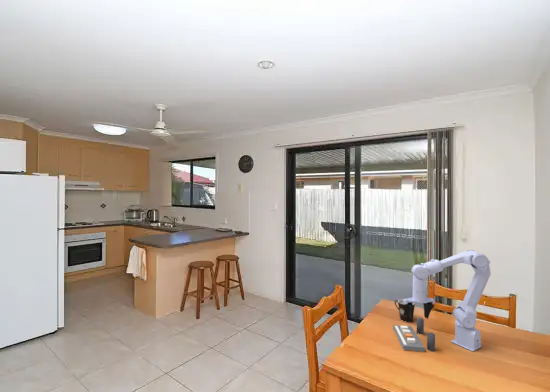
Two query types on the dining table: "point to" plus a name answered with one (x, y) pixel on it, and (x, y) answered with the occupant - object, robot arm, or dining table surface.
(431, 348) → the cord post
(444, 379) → the dining table surface
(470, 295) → the robot arm
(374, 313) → the dining table surface
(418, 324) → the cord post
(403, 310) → the coffee mug
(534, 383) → the dining table surface
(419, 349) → the breaker panel
